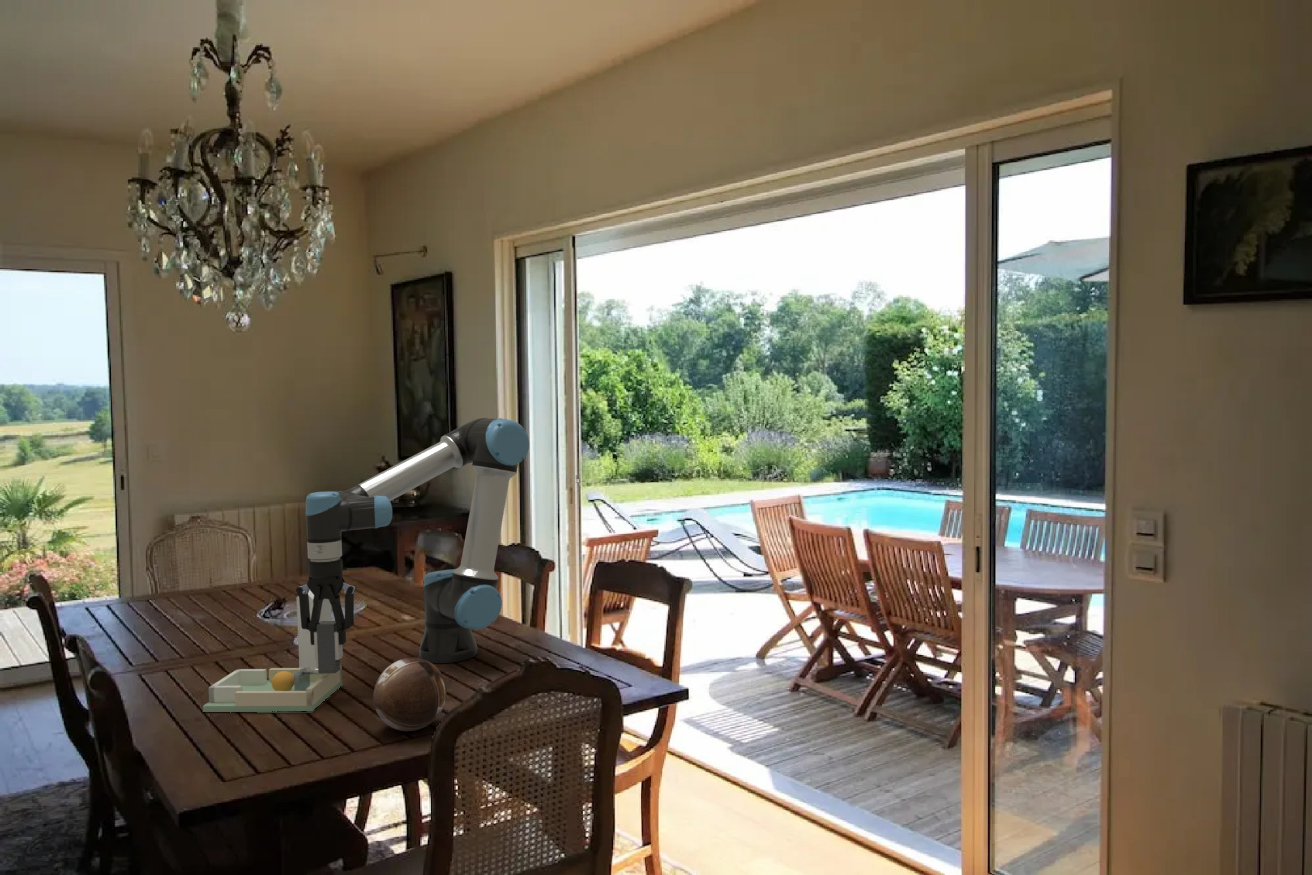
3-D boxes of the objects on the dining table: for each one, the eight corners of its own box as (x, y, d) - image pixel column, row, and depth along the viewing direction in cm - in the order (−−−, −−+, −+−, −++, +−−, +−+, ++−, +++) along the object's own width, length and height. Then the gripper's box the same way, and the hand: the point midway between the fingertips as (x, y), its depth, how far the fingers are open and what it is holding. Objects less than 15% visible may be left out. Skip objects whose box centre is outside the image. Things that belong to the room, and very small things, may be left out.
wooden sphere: (359, 733, 195) (356, 662, 194) (414, 711, 208) (412, 645, 207) (408, 747, 187) (405, 674, 186) (462, 724, 199) (460, 655, 199)
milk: (299, 669, 240) (295, 585, 239) (317, 662, 246) (313, 580, 244) (316, 672, 238) (312, 587, 236) (334, 665, 243) (330, 582, 242)
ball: (298, 688, 220) (297, 668, 220) (289, 695, 215) (288, 674, 215) (277, 688, 220) (276, 668, 220) (268, 696, 215) (267, 674, 215)
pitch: (342, 685, 226) (341, 664, 226) (312, 712, 208) (311, 688, 208) (241, 686, 227) (240, 665, 227) (202, 712, 209) (201, 689, 209)
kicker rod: (343, 686, 220) (341, 619, 219) (333, 694, 214) (331, 625, 213) (304, 686, 220) (302, 619, 220) (294, 694, 214) (291, 626, 214)
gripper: (281, 562, 212) (285, 663, 213) (355, 561, 211) (359, 662, 213) (295, 556, 219) (299, 653, 221) (367, 555, 219) (370, 653, 220)
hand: (328, 657), depth 217 cm, fingers closed on kicker rod, 4 cm apart
